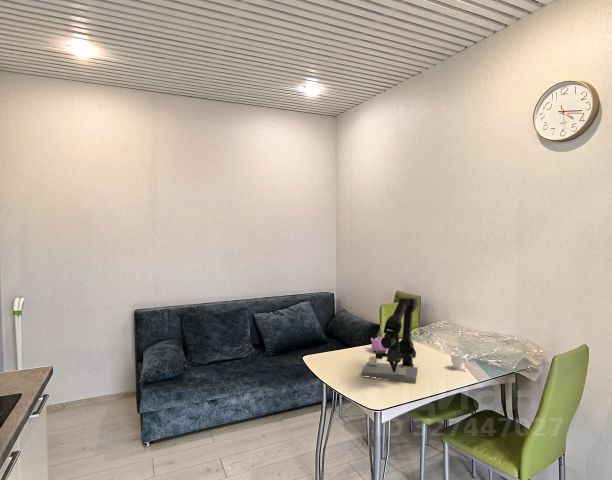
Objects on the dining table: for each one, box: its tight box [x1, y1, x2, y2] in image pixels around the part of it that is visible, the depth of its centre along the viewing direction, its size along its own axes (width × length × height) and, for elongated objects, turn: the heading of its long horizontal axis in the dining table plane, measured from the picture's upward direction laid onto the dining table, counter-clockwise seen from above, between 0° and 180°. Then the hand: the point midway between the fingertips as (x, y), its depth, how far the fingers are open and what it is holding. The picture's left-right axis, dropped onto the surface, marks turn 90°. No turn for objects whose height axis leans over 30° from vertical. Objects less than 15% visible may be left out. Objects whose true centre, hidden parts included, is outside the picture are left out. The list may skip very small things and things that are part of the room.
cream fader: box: [368, 355, 378, 365], centre depth 209 cm, size 3×4×4 cm
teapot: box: [369, 336, 388, 353], centre depth 239 cm, size 10×15×9 cm
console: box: [361, 361, 419, 384], centre depth 201 cm, size 16×28×3 cm, turn 70°
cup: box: [450, 351, 469, 371], centre depth 207 cm, size 7×10×8 cm
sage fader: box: [397, 364, 406, 376], centre depth 194 cm, size 3×4×4 cm
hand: (394, 372), depth 195 cm, fingers closed
